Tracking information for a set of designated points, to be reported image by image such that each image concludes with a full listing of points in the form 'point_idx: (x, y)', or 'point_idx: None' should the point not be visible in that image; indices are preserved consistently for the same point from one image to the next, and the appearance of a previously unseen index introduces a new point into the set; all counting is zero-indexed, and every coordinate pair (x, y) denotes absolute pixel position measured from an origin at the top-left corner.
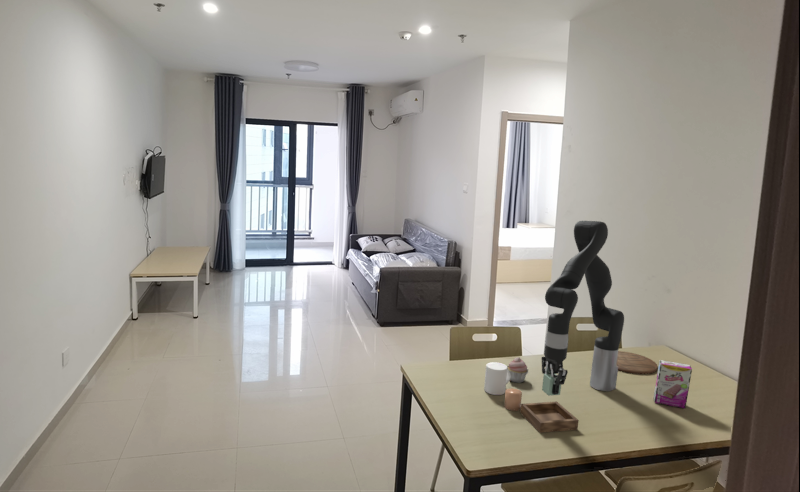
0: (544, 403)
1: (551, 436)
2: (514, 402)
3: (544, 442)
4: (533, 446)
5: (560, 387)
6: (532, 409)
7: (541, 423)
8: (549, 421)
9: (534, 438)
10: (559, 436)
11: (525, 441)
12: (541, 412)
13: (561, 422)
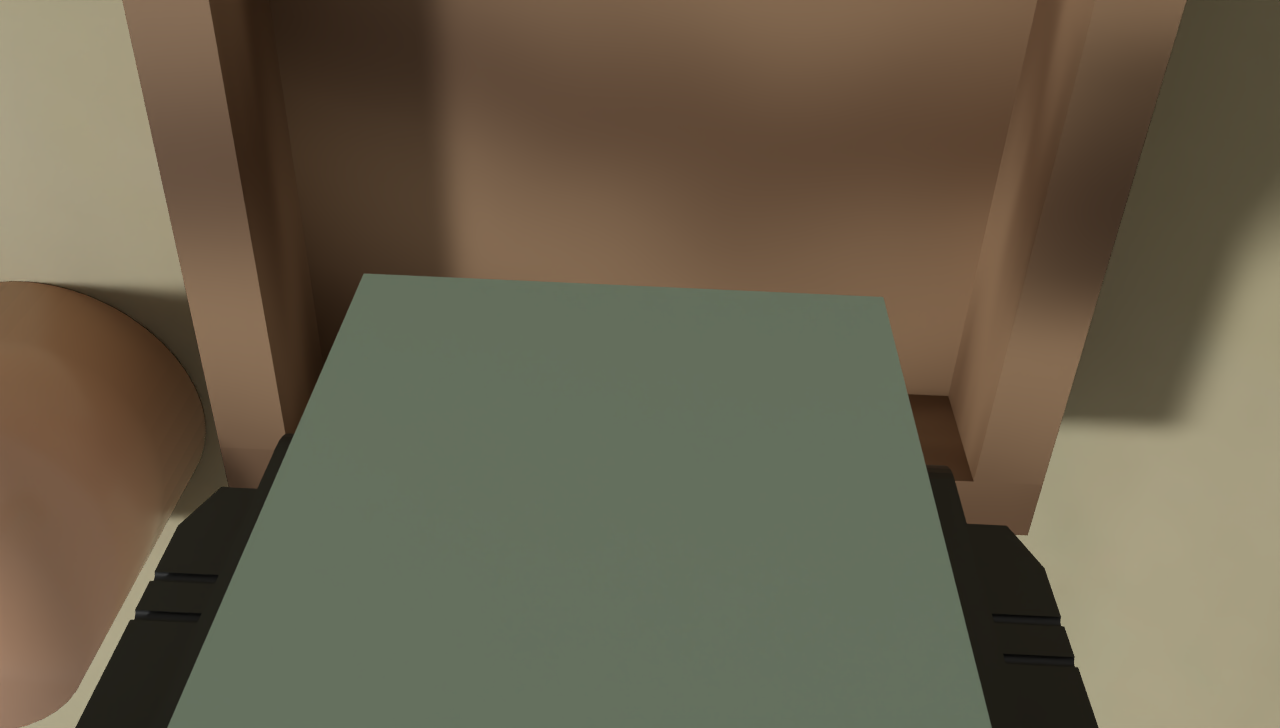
0: (190, 20)
1: (1163, 304)
2: (148, 548)
3: (1256, 485)
4: (1262, 646)
5: (929, 526)
6: (295, 254)
7: (1028, 517)
8: (1037, 370)
9: (1096, 550)
10: (1230, 174)
11: (1110, 672)
12: (372, 88)
13: (1141, 122)
